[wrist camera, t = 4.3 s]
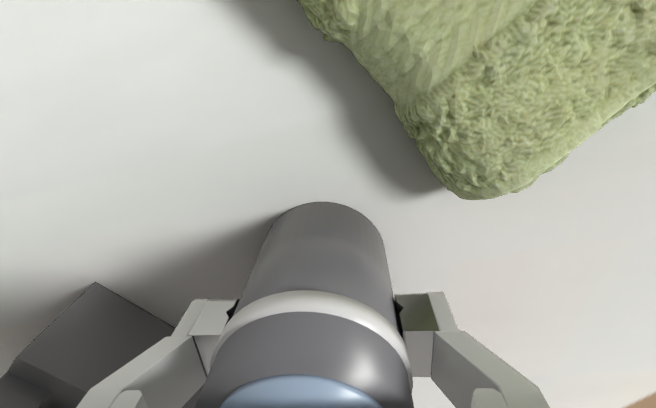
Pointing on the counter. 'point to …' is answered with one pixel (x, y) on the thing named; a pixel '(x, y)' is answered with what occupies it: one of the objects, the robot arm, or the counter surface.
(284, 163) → the counter surface
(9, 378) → the camera body
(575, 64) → the washcloth
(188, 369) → the robot arm
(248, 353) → the lens
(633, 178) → the counter surface
